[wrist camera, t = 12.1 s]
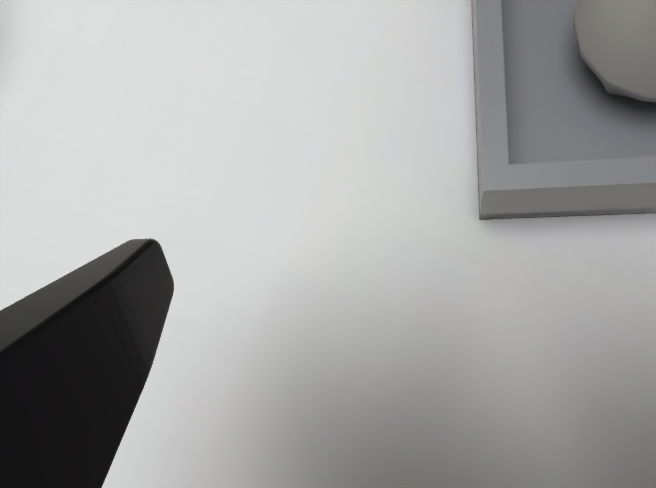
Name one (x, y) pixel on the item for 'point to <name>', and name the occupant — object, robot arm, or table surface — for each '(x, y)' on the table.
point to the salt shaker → (619, 44)
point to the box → (553, 120)
